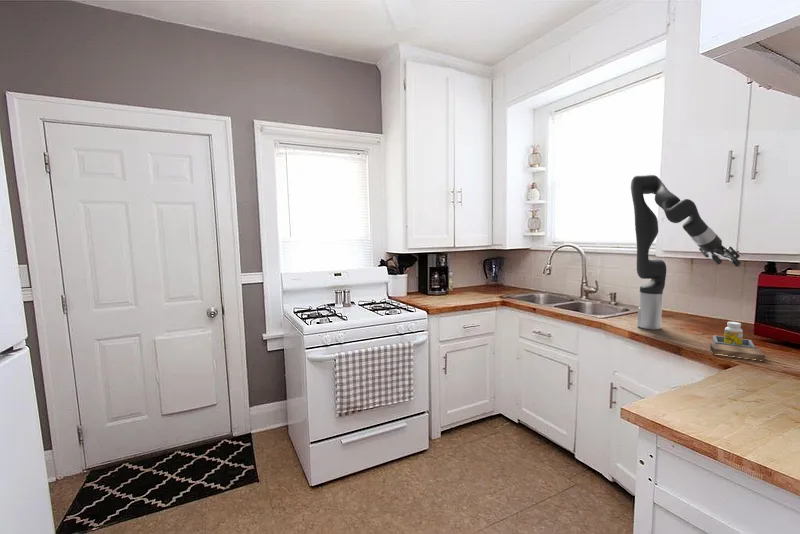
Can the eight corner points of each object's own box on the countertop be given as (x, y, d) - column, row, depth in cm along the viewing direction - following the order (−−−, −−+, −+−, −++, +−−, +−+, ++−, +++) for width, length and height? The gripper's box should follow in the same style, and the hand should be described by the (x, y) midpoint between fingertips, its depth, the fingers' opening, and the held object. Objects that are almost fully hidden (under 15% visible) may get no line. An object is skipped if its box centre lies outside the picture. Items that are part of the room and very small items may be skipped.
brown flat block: (713, 355, 138) (713, 348, 138) (709, 348, 145) (709, 342, 145) (764, 361, 131) (765, 355, 130) (758, 355, 137) (758, 348, 137)
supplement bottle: (745, 347, 144) (747, 324, 143) (734, 348, 143) (736, 325, 142) (730, 343, 149) (732, 320, 148) (720, 344, 148) (721, 321, 147)
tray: (714, 348, 146) (715, 342, 145) (712, 340, 155) (713, 335, 154) (754, 354, 138) (755, 347, 138) (750, 345, 148) (750, 339, 147)
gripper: (727, 232, 146) (752, 259, 148) (697, 231, 161) (720, 256, 162) (713, 245, 147) (738, 272, 149) (685, 243, 161) (707, 268, 163)
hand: (728, 264), depth 155 cm, fingers open, 8 cm apart
